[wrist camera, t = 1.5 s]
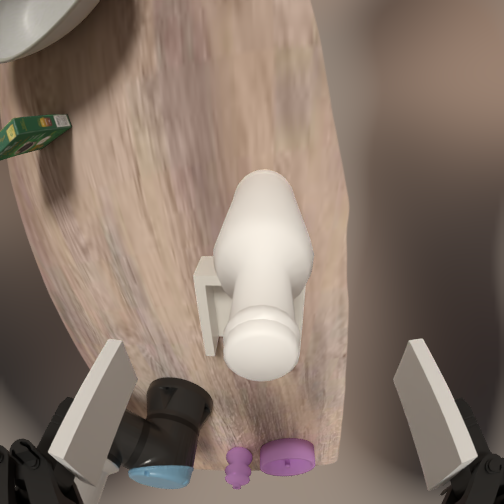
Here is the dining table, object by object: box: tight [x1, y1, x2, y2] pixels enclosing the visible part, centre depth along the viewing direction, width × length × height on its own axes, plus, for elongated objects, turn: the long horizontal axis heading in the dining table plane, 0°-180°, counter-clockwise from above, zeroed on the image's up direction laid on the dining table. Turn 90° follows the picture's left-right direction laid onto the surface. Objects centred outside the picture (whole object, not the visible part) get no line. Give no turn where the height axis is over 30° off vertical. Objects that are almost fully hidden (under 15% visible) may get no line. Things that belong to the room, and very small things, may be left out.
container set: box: [225, 438, 315, 489], centre depth 64 cm, size 25×15×13 cm, turn 95°
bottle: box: [213, 169, 314, 381], centre depth 27 cm, size 8×8×30 cm
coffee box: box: [0, 114, 72, 160], centre depth 30 cm, size 8×3×13 cm, turn 109°
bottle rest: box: [193, 256, 306, 356], centre depth 45 cm, size 15×15×6 cm
